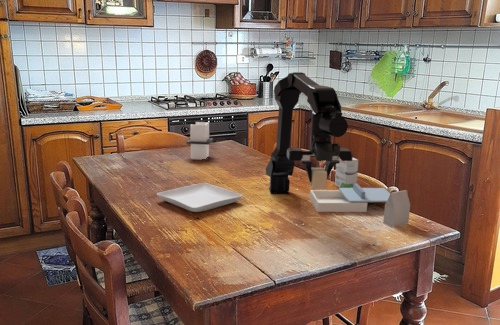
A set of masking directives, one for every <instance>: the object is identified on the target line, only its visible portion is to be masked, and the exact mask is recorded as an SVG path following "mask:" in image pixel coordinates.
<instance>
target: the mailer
mask: <svg viewBox="0 0 500 325" xmlns="http://www.w3.org/2000/svg"><path fill="white" fill-rule="evenodd" d="M309 199H310V201H311V203H312V205H313V207H314V208H315V210H316V211H317V213H367V212H368V202H349V201H348V200H347V199H346V197H345V196H344V195H343V194H342V192H341V191H340V190H339V189H310V190H309Z"/></svg>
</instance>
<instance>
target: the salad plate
mask: <svg viewBox="0 0 500 325" xmlns="http://www.w3.org/2000/svg"><path fill="white" fill-rule="evenodd" d="M156 195H157V197H158V198H160V199H161V200H163V201H165V202H168V203H170V204H171V205H175V206H177V207H179V208H182V209H185V210H187V211H188V212H193V213H201V212H206V211H209V210H213V209H217V208H220V207H223V206H226V205H229V204H233V203H236V202H238V201H239V200H241V199H242V198H243V196H244V195H243V194H241V193H238V192H235V191H232V190H230V189H226V188H223V187H220V186H217V185H214V184H211V183H207V182H201V183H200V182H199V183H195V184H190V185H186V186H181V187H177V188H176V187H175V188H173V189H168V190H164V191H159V192H157V193H156Z"/></svg>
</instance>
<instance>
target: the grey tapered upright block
mask: <svg viewBox="0 0 500 325" xmlns="http://www.w3.org/2000/svg"><path fill="white" fill-rule="evenodd" d="M389 193H390V196H389V198H388V200H387V202H385V204H384V213H383V221H382V222H383V224H385V225H387V226H389V227H392V228H395V227H398V226H403V225H407V224H409V220H410V210H411V202H410V199H409V195H408V190H407V189H405V190H399V191H394V192H389ZM406 223H407V224H406ZM402 224H403V225H402Z"/></svg>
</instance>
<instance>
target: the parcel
mask: <svg viewBox="0 0 500 325" xmlns="http://www.w3.org/2000/svg"><path fill="white" fill-rule="evenodd" d="M311 173H312V181H311V182H310V181H309V180H308V181H309V182H308V183H309V186H310V187H311V188H312V190H327V186H328V185H327V182H328V179H327V172H326V170H325V167H313V166H311Z"/></svg>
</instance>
